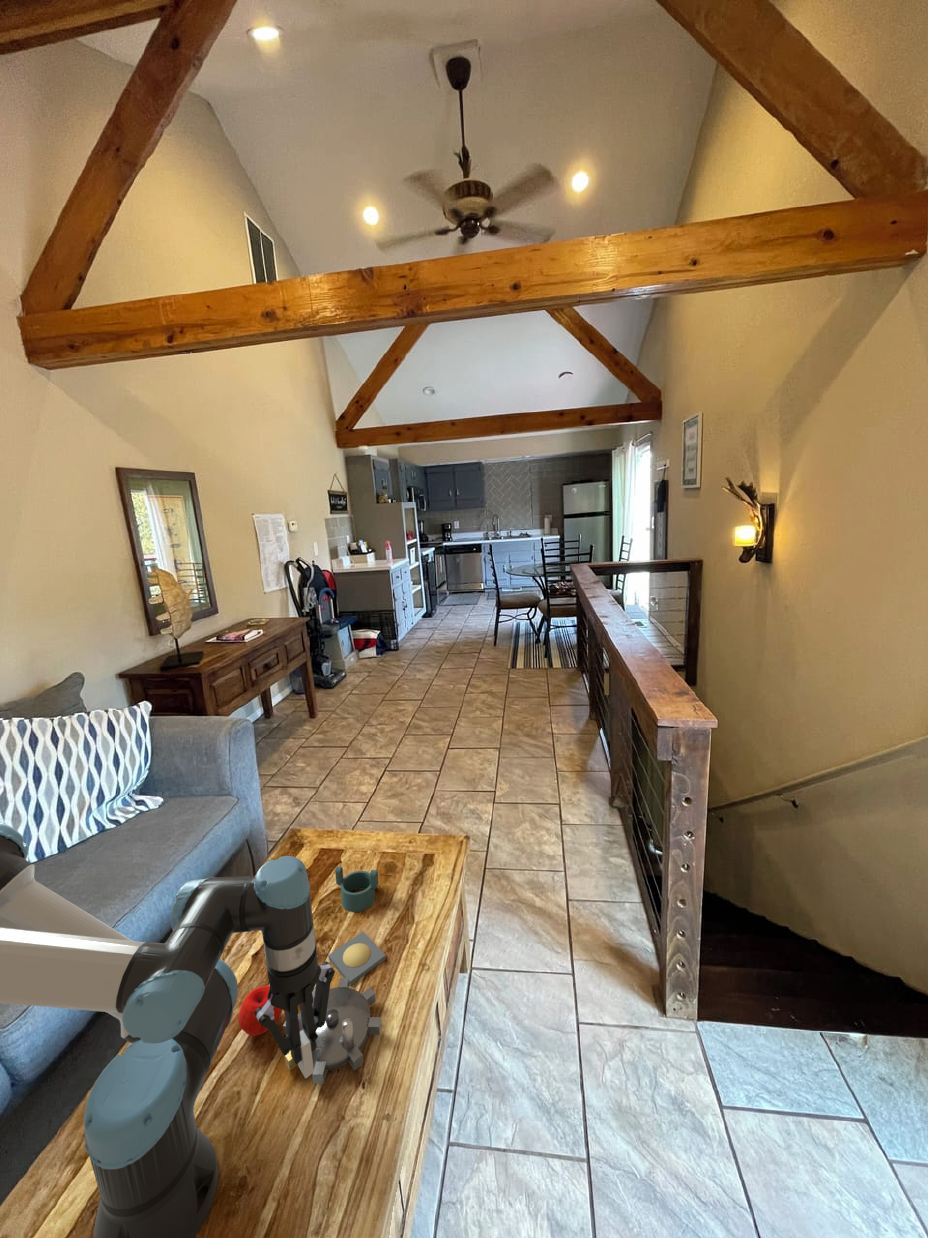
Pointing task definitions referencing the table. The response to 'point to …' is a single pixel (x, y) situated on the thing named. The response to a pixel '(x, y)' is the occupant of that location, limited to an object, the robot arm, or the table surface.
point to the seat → (356, 957)
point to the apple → (248, 1008)
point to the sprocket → (342, 1031)
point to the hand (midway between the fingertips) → (306, 1069)
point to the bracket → (357, 881)
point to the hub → (332, 1018)
